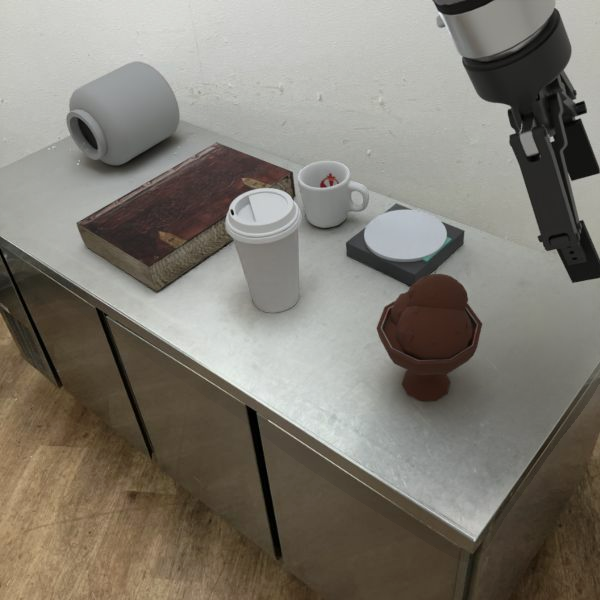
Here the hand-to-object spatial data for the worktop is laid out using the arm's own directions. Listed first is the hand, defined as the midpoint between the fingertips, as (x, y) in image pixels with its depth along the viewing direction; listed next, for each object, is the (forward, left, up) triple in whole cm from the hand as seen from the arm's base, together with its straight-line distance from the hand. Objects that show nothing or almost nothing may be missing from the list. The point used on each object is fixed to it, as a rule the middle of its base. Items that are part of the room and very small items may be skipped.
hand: (587, 222), depth 61 cm
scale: (+27, +7, -21) cm, 35 cm away
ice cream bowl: (+3, +14, -21) cm, 26 cm away
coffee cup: (+24, +27, -21) cm, 42 cm away
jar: (+71, +45, -21) cm, 86 cm away
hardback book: (+46, +36, -21) cm, 62 cm away
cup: (+38, +14, -21) cm, 46 cm away
